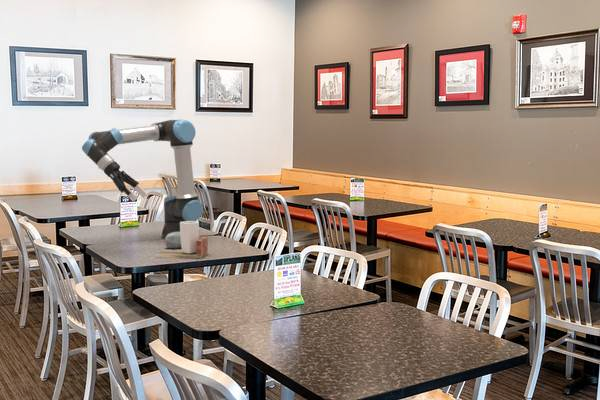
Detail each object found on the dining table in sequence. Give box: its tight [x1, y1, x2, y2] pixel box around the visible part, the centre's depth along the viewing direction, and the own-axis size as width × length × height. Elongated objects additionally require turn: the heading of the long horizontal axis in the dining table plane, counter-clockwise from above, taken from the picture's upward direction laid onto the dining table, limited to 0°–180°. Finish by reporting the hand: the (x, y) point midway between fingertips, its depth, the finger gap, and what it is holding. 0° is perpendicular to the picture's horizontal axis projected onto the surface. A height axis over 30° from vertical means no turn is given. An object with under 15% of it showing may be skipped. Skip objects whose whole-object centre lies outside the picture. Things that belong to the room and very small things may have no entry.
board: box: [154, 236, 209, 260], centre depth 309 cm, size 12×22×8 cm, turn 82°
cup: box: [180, 220, 200, 254], centre depth 308 cm, size 7×7×15 cm
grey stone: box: [164, 232, 182, 249], centre depth 330 cm, size 14×10×10 cm
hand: (140, 197), depth 313 cm, fingers open, 13 cm apart
